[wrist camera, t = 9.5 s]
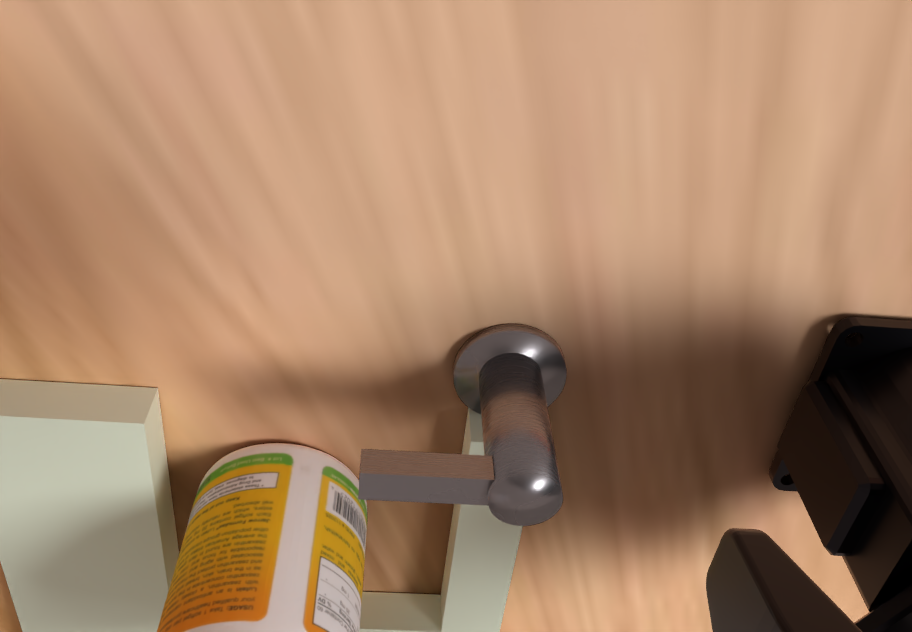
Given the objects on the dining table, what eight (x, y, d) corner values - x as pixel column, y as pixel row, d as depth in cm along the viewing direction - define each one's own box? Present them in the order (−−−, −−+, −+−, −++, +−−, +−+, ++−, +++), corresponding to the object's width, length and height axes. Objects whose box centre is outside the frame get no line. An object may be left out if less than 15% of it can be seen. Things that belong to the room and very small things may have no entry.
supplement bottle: (179, 527, 28) (84, 848, 20) (226, 415, 25) (137, 737, 18) (334, 568, 30) (300, 883, 22) (395, 467, 27) (381, 786, 19)
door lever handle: (573, 327, 24) (604, 456, 20) (554, 413, 26) (578, 547, 22) (372, 314, 23) (361, 443, 19) (367, 402, 25) (355, 537, 21)
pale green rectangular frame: (535, 409, 26) (540, 445, 24) (468, 729, 36) (469, 766, 35) (-23, 377, 24) (-47, 413, 23) (74, 719, 35) (62, 756, 34)
